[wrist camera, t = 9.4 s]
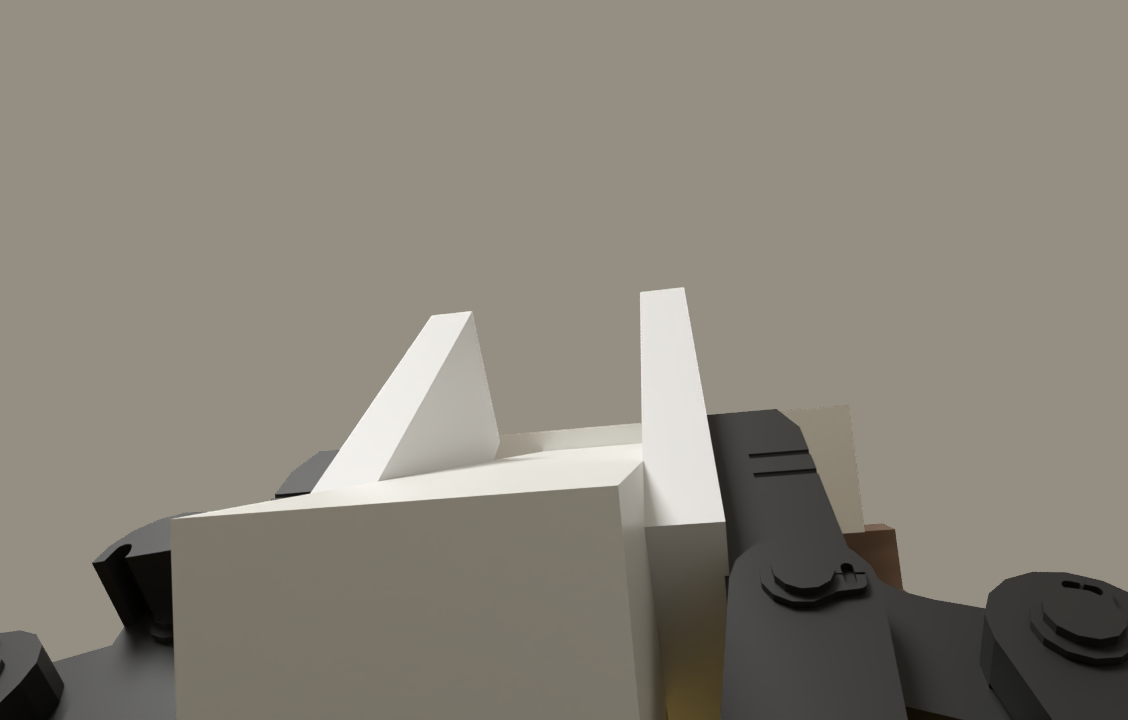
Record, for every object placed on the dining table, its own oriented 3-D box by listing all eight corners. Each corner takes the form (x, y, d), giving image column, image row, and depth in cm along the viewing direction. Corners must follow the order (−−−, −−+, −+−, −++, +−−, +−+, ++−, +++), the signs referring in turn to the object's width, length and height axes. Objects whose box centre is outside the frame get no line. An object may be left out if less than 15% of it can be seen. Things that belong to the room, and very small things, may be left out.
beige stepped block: (-391, 914, 5) (-372, 493, 6) (466, 523, 27) (460, 440, 27) (1580, 930, 4) (1453, 326, 4) (806, 499, 25) (795, 411, 26)
